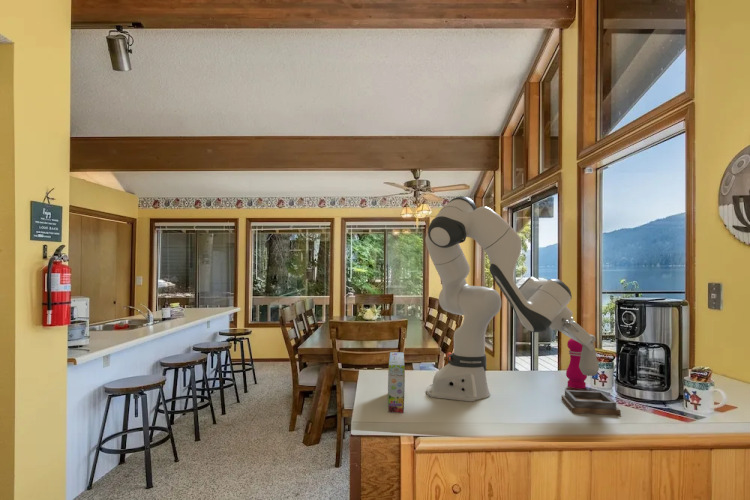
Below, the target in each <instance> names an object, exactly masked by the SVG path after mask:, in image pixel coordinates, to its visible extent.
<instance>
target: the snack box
mask: <svg viewBox="0 0 750 500" xmlns="http://www.w3.org/2000/svg"><path fill="white" fill-rule="evenodd" d="M388 358H389V360H388V369H387V371H388V377H387V413H397V412H398V413H399V414H401V413H402V414H404V411H405V392H406V391H405V390H406V389H405V388H406V387H405V383H406V381H405V380H406V379H405V377H406V375H405V374H406V372H405V369H406V367H405V354H404V352H397V351H395V352H389V357H388Z"/></svg>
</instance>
